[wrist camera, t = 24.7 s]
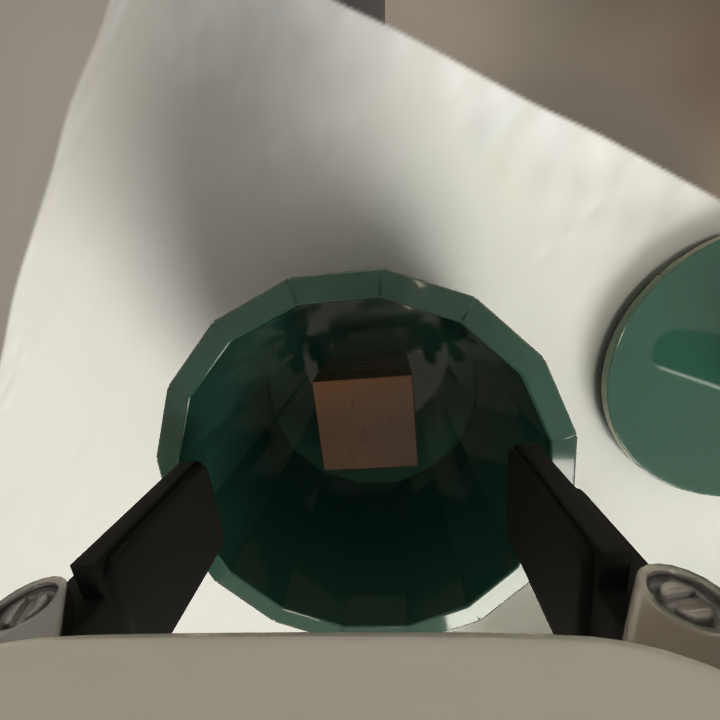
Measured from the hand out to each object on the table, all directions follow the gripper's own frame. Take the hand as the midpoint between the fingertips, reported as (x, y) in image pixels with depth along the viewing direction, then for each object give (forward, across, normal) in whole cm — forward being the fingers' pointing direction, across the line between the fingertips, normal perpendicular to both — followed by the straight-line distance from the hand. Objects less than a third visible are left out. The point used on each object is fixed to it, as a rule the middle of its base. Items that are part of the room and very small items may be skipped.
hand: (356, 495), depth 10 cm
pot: (+10, 0, 0) cm, 10 cm away
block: (+10, 0, 0) cm, 10 cm away
